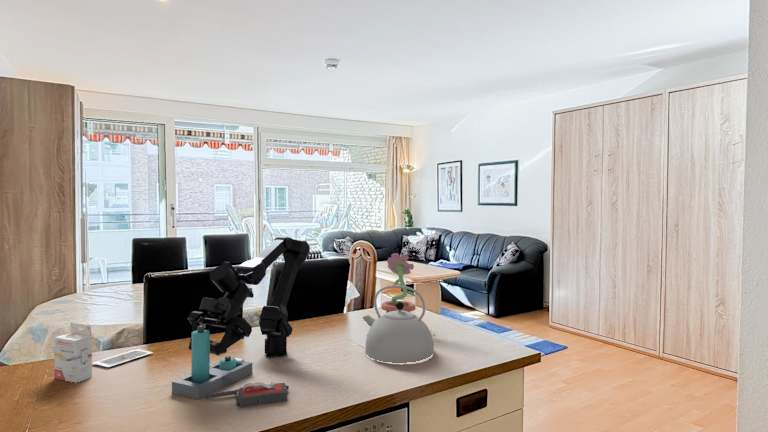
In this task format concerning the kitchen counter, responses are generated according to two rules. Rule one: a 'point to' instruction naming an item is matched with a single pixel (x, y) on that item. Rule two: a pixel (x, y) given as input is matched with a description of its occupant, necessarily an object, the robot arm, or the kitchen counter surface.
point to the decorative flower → (399, 268)
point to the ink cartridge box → (74, 354)
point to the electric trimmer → (215, 346)
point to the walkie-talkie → (257, 394)
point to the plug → (200, 355)
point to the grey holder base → (213, 378)
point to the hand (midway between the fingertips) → (202, 351)
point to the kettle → (398, 334)
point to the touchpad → (122, 358)
